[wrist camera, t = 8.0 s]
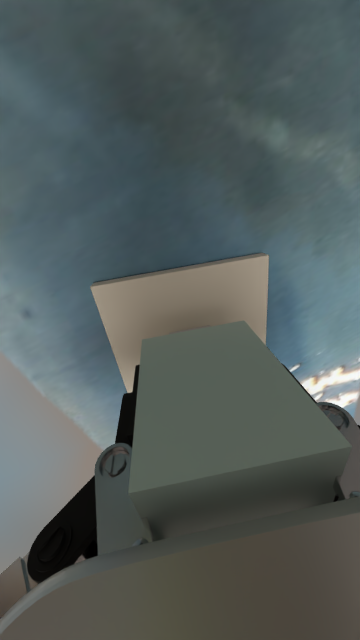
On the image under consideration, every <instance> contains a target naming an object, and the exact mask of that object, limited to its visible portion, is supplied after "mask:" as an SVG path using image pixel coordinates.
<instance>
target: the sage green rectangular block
mask: <svg viewBox="0 0 360 640" xmlns="http://www.w3.org/2000/svg"><path fill="white" fill-rule="evenodd" d="M351 448H352V445H351V444H350V443H349V442H348V441H347V439H346V438H345V437H344V436H343V435H342V434H341V432H340V431H339V430H338V429H337V428H336V427H335V425H334V424H333V423H332V422H331V421H330V420H329V419H328V417H327V416H326V415H325V414H324V413H323V412H322V410H321V409H320V408H319V407H318V406H317V405H316V403H315V402H314V401H313V400H312V399H311V398H310V396H309V395H308V394H307V393H306V392H305V391H304V389H303V388H302V387H301V386H300V385H299V384H298V382H297V381H296V380H295V379H294V378H293V377H292V375H291V374H290V373H289V372H288V371H287V370H286V368H285V367H284V366H283V365H282V364H281V363H280V361H279V360H278V359H277V358H276V357H275V356H274V354H273V353H272V352H271V351H270V350H269V349H268V347H267V346H266V345H265V344H264V343H263V342H262V340H261V339H260V338H259V337H258V336H257V335H256V334H255V332H254V331H253V330H252V329H251V328H250V327H249V325H248V324H247V323H246V322H245V321H244V320H243V321H238V322H233V323H227V324H222V325H217V326H211V327H206V328H201V329H195V330H190V331H185V332H179V333H174V334H169V335H163V336H158V337H153V338H147V339H142V346H141V357H140V368H139V379H138V390H137V401H136V413H135V424H134V435H133V446H132V457H131V469H130V480H129V491H128V494H129V496H130V498H131V500H132V502H133V504H134V506H135V508H136V510H137V512H138V514H139V516H140V518H144V517H147V518H148V520H149V522H150V524H151V527H152V532H153V539H154V541H158V540H163V539H167V538H172V537H176V536H181V535H185V534H190V533H194V532H199V531H203V530H207V529H212V528H216V527H221V526H225V525H230V524H235V523H239V522H244V521H248V520H253V519H257V518H262V517H267V516H271V515H276V514H280V513H285V512H289V511H294V510H299V509H303V508H308V507H313V506H318V505H322V504H327V503H332V502H333V501H334V498H335V495H336V494H335V491H334V489H333V484H334V481H335V478H336V476H340V475H343V472H344V469H345V466H346V463H347V460H348V457H349V454H350V451H351Z"/></svg>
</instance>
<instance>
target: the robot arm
mask: <svg viewBox="0 0 360 640" xmlns="http://www.w3.org/2000/svg"><path fill="white" fill-rule="evenodd" d="M281 364H282V363H281ZM282 365H283V364H282ZM283 366H284V365H283ZM284 367H285V366H284ZM139 368H140V365H136V366H135V374H134V383H133V391H132V392H131V393H126V394H124V395H123V399H122V405H121V411H120V417H119V423H118V429H117V435H116V441H115V444H113V445H111V446H109V447H108V448H106V449H105V450H104V451H103V452H102V453H101V455H100V456H99V458H98V460H97V462H96V464H95V475H94V476H93V477H92V479H91V480H90V481H89V482H88V483H87V484H86V485H85V486H84V487H83V488H82V489H81V490H80V491H79V492H78V493H77V494H76V495H75V496H74V497H73V498H72V499H71V500H70V501H69V502H68V503H67V505H66V506H65V507H64V508H63V509H62V510H61V511H60V512H59V513H58V514H57V515H56V516H55V517H54V518H53V519H52V520H51V521H50V522H49V523H48V524H47V525H46V526H45V527H44V529H43V530H42V531H41V532H40V534H39V535H38V536H37V538H36V540H35V541H34V543H33V545H32V547H31V549H30V552H29V553H28V554H27V555H26V556H25V557H24V558H21V557H19V558H18V559H17V560H16V561H14V562H13V563H12V564H11V565H10V566H9V567H8V568H7V569H6V570H5V571H4V572H2V573H1V574H0V640H360V426H359V425H357V424H356V422H355V421H354V419H353V418H352V416H351V415H350V414H349V413H348V412H347V411H346V410H344V409H343V408H341V407H339V406H338V405H335V404H332V403H328V402H318V403H317V402H316V401H315V400H314V399H313V398H312V397H311V395H310V394H309V393H308V392H307V391H306V390H305V389H304V387H303V386H302V385H301V384H300V383H299V382H298V380H297V379H296V378H295V377H294V376H293V375H292V374H291V372H290V371H289V370H288V369H287V368H286V367H285V368H286V370H287V371H288V372H289V373H290V374H291V375H292V377H293V378H294V379H295V380H296V381H297V382H298V384H299V385H300V386H301V387H302V388H303V389H304V391H305V392H306V393H307V394H308V395H309V396H310V398H311V399H312V400H313V401H314V402H315V403H316V405H317V406H318V407H319V408H320V409H321V410H322V412H323V413H324V414H325V415H326V416H327V417H328V419H329V420H330V421H331V422H332V423H333V424H334V425H335V427H336V428H337V429H338V430H339V431H340V432H341V434H342V435H343V436H344V437H345V438H346V439H347V441H348V442H349V443H350V444H351V445H352V448H351V451H350V454H349V457H348V460H347V463H346V466H345V469H344V472H343V475H340V476H336V478H335V481H334V484H333V489H334V491H335V494H336V495H335V498H334V501H333V502H332V503H327V504H322V505H318V506H313V507H308V508H303V509H299V510H294V511H289V512H285V513H280V514H276V515H271V516H267V517H262V518H257V519H253V520H248V521H244V522H239V523H235V524H230V525H225V526H221V527H216V528H212V529H207V530H203V531H199V532H194V533H190V534H185V535H181V536H176V537H172V538H167V539H163V540H158V541H154V539H153V532H152V527H151V524H150V522H149V520H148V518H147V517H144V518H140V516H139V514H138V512H137V510H136V508H135V506H134V504H133V502H132V500H131V498H130V496H129V494H128V491H129V480H130V469H131V457H132V446H133V435H134V424H135V413H136V401H137V390H138V379H139Z"/></svg>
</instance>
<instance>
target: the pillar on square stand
mask: <svg viewBox="0 0 360 640" xmlns="http://www.w3.org/2000/svg"><path fill="white" fill-rule="evenodd" d="M268 267H269V255H267V254H264V253H259V254H253V255H248V256H242V257H236V258H231V259H225V260H219V261H214V262H208V263H202V264H197V265H191V266H186V267H180V268H174V269H169V270H163V271H157V272H152V273H146V274H141V275H135V276H129V277H124V278H118V279H112V280H107V281H101V282H95V283H93V284H92V285H91V287H90V288H91V291H92V293H93V296H94V299H95V302H96V305H97V308H98V310H99V313H100V316H101V319H102V322H103V325H104V327H105V330H106V333H107V336H108V339H109V342H110V344H111V347H112V350H113V353H114V356H115V359H116V361H117V364H118V367H119V370H120V373H121V376H122V378H123V381H124V384H125V387H126V390H127V392H128V393H131V392H132V391H133V383H134V374H135V366H136V365H140V357H141V346H142V339H147V338H153V337H158V336H163V335H169V334H174V333H179V332H185V331H190V330H195V329H201V328H206V327H211V326H217V325H222V324H227V323H233V322H238V321H243V320H244V321H245V322H246V323H247V324H248V325H249V327H250V328H251V329H252V330H253V331H254V332H255V334H256V335H257V336H258V337H259V338H260V339H261V340H262V342H263V343H264V344H265V345H266V323H267V295H268Z"/></svg>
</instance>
